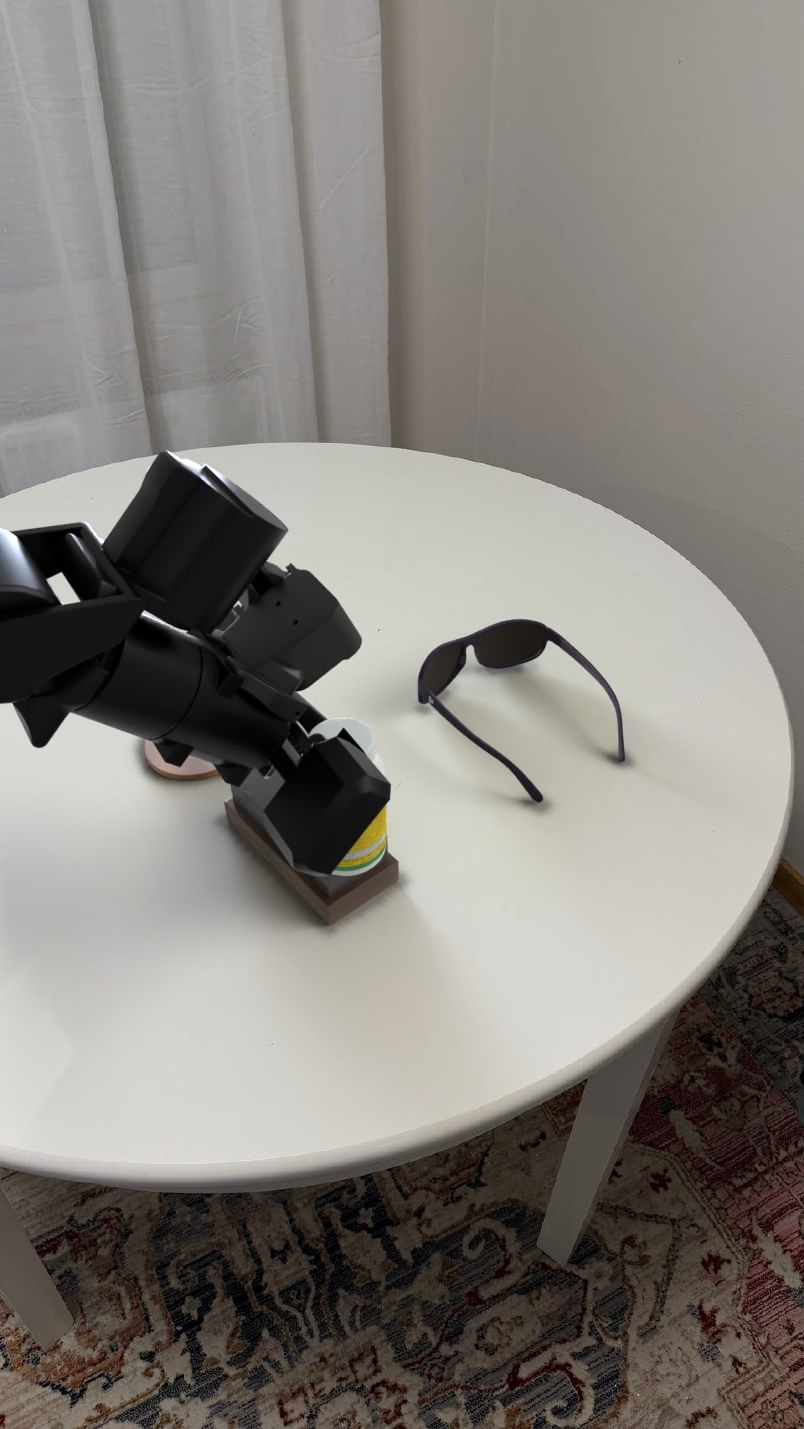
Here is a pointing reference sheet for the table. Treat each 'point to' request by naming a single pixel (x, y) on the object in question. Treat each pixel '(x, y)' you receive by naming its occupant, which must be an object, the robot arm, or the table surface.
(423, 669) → the sunglasses
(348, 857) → the supplement bottle
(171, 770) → the cork coaster
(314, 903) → the sharpening stone
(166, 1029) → the table surface
